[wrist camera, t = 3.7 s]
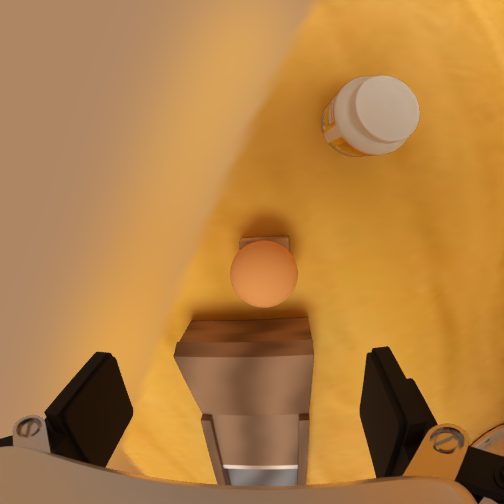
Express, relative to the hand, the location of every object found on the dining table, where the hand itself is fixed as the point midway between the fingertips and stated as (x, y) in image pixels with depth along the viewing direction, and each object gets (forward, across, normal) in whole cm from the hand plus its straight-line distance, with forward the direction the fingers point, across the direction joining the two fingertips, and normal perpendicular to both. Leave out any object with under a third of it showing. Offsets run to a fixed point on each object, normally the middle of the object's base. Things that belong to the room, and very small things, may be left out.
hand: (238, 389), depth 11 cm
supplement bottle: (+18, -8, -11) cm, 23 cm away
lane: (+18, +2, +22) cm, 29 cm away
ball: (+14, 0, 0) cm, 14 cm away
